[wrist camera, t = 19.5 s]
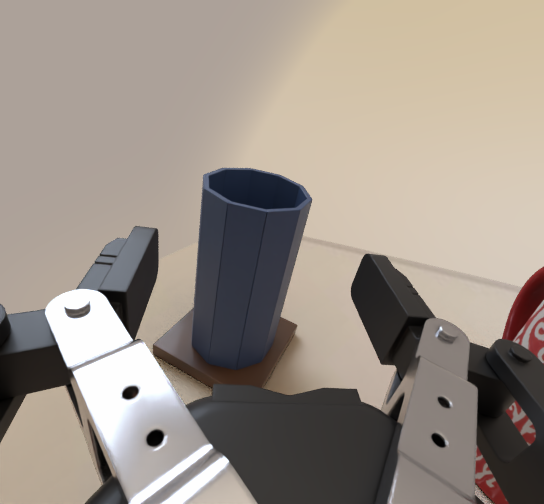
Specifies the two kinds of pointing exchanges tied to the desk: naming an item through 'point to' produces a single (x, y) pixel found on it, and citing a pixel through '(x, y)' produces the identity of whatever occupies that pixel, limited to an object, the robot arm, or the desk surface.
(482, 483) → the mug
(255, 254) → the tumbler
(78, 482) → the desk surface
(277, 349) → the coaster
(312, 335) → the desk surface
